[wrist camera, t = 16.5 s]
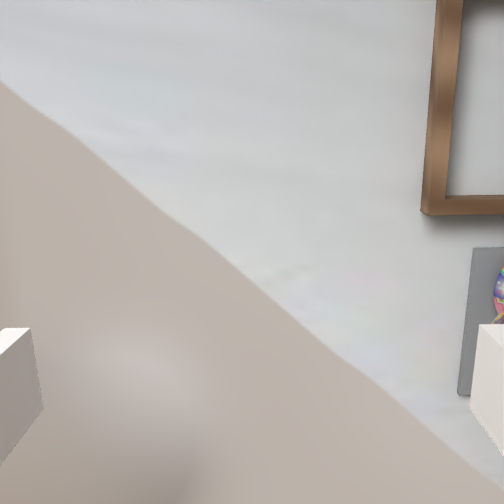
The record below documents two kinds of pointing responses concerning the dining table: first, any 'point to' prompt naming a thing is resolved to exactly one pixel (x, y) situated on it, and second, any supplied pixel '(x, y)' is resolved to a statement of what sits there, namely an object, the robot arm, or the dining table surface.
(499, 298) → the mug
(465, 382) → the mat
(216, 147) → the dining table surface
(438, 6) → the frame
